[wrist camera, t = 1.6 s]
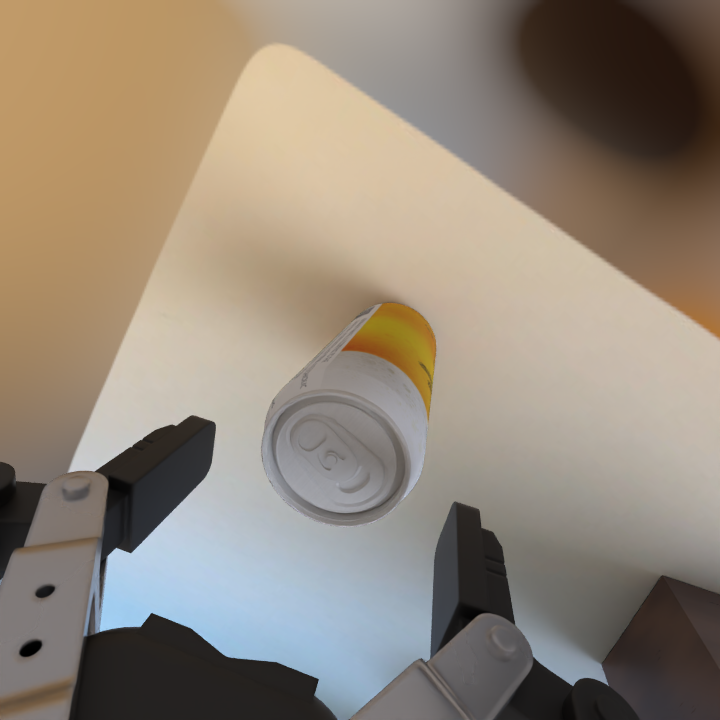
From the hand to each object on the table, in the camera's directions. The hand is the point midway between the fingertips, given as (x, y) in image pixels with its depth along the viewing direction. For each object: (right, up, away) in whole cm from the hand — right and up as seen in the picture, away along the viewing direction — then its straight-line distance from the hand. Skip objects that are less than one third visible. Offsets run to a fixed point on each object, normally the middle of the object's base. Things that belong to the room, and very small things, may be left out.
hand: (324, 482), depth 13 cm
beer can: (+3, +5, +15) cm, 16 cm away
